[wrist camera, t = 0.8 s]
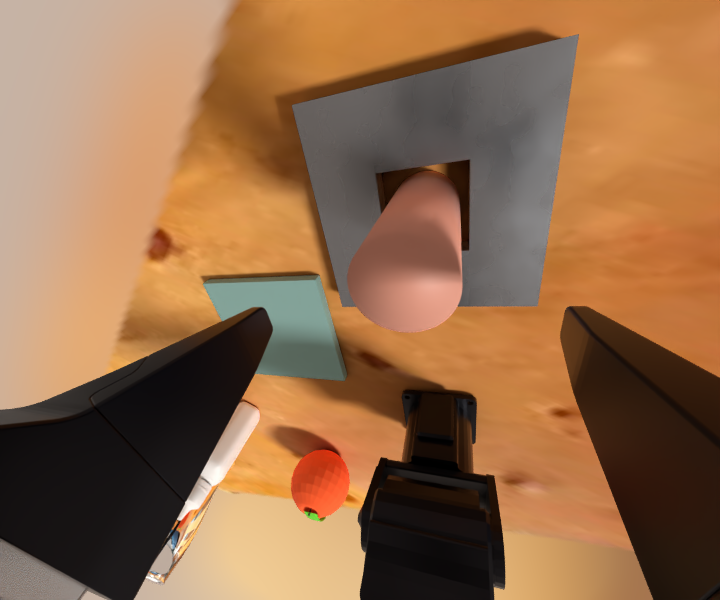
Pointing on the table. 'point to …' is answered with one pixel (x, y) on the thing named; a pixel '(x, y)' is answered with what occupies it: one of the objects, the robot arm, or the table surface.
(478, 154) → the grey square hole plate
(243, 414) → the eye dropper bottle
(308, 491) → the clementine
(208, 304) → the table surface
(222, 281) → the rubber mat
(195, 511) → the beer glass
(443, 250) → the pink rounded cylinder
